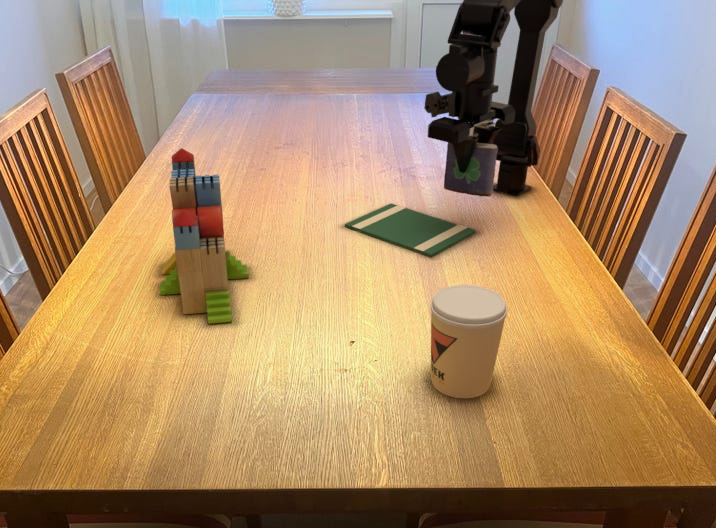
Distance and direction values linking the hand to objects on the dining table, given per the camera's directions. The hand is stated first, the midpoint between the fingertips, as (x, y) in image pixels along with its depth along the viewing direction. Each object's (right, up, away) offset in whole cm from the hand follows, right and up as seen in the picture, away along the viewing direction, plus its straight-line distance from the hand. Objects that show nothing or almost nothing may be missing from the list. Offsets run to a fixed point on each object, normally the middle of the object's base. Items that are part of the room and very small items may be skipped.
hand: (467, 170), depth 134 cm
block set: (-45, -22, -12) cm, 51 cm away
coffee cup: (-7, -37, -36) cm, 52 cm away
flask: (0, -4, +2) cm, 4 cm away
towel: (-10, -10, +5) cm, 15 cm away
